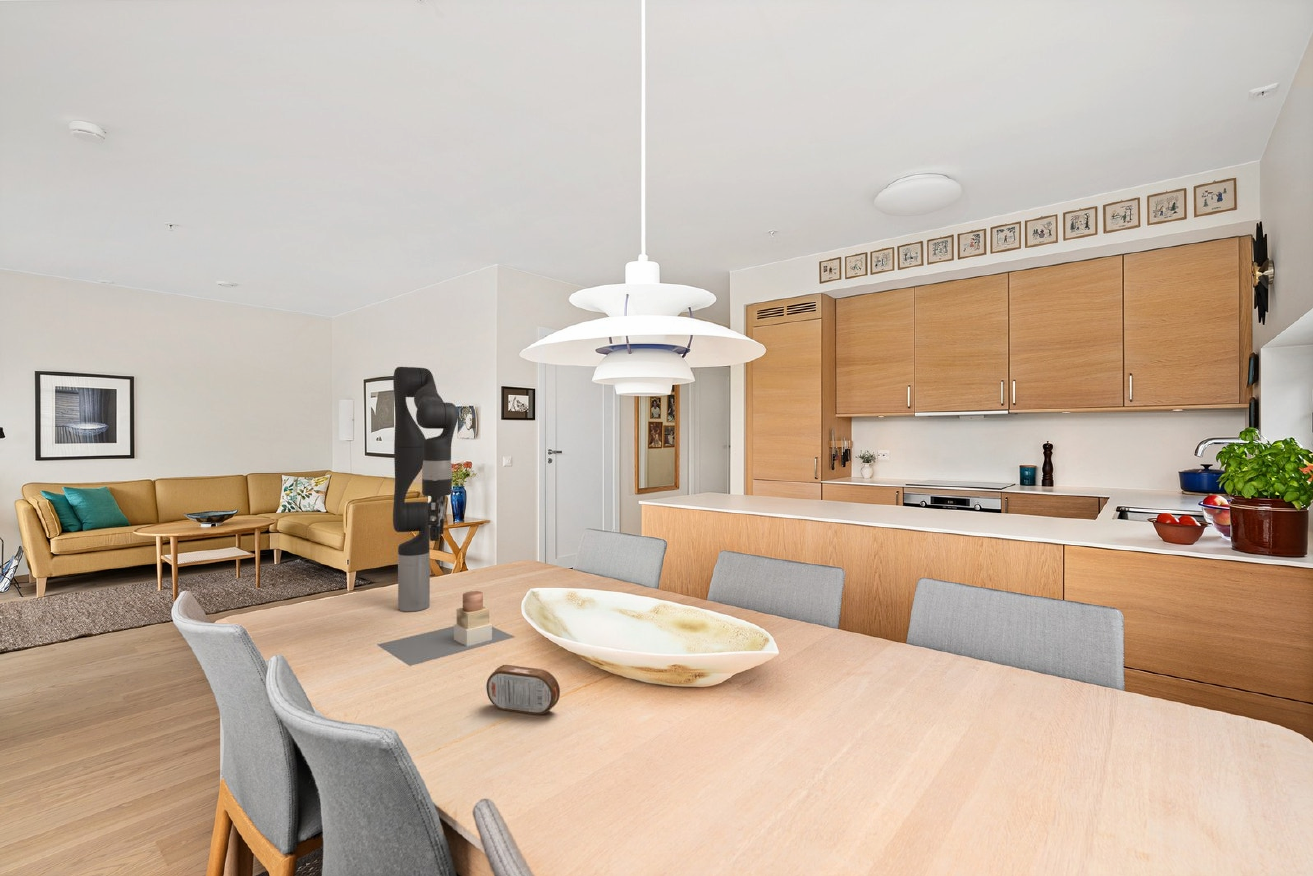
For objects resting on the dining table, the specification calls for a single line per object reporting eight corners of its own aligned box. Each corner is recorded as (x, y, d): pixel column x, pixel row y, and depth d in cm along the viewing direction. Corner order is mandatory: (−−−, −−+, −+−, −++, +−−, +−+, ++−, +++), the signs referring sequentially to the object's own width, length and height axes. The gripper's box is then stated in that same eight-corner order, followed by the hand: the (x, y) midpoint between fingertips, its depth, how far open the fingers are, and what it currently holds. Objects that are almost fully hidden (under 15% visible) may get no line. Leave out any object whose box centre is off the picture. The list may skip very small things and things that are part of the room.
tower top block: (456, 624, 156) (456, 609, 156) (477, 619, 160) (477, 604, 160) (467, 629, 152) (467, 613, 152) (489, 624, 156) (489, 609, 156)
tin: (560, 712, 118) (560, 669, 118) (553, 719, 114) (553, 675, 114) (492, 703, 122) (492, 661, 122) (483, 709, 119) (483, 667, 119)
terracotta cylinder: (459, 609, 156) (459, 593, 156) (476, 605, 160) (476, 590, 160) (468, 613, 153) (468, 597, 153) (486, 609, 156) (486, 593, 156)
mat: (376, 648, 152) (376, 644, 152) (477, 623, 172) (477, 620, 172) (409, 670, 138) (409, 665, 138) (515, 640, 158) (515, 636, 158)
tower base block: (453, 639, 156) (453, 624, 156) (478, 633, 161) (478, 618, 161) (466, 646, 151) (466, 630, 151) (491, 639, 156) (491, 624, 156)
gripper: (426, 474, 166) (426, 532, 167) (417, 480, 152) (417, 543, 153) (454, 474, 168) (454, 532, 168) (448, 479, 154) (448, 542, 154)
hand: (436, 537), depth 160 cm, fingers open, 8 cm apart
